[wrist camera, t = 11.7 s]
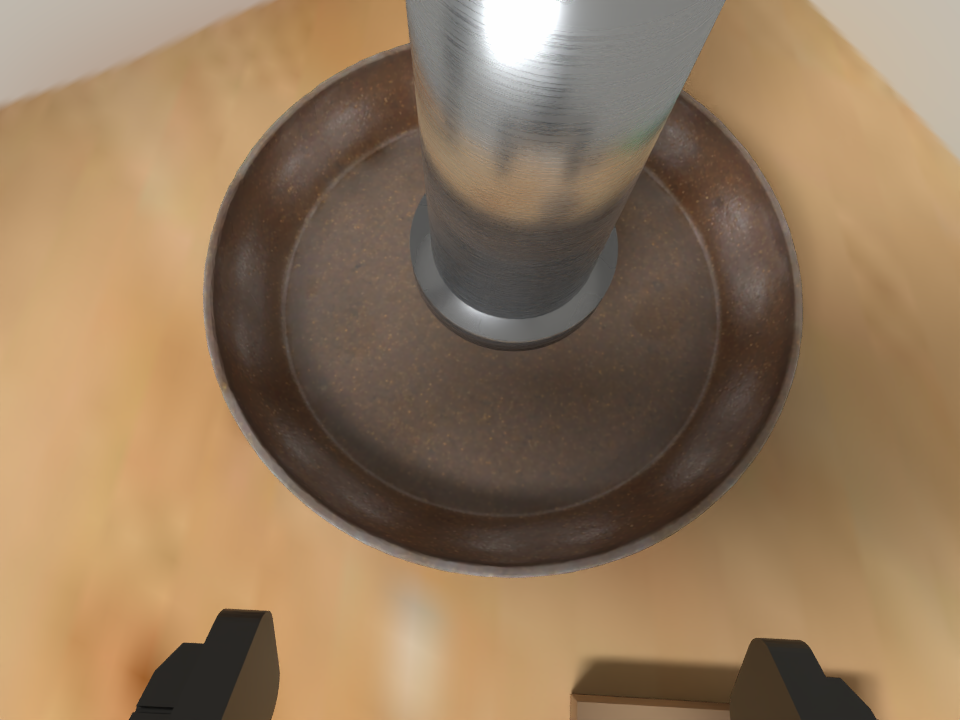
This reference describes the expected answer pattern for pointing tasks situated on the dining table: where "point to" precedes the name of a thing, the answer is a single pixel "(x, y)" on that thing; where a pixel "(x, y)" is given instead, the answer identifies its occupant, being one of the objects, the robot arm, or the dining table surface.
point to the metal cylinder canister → (536, 151)
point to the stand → (644, 709)
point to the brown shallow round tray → (493, 373)
